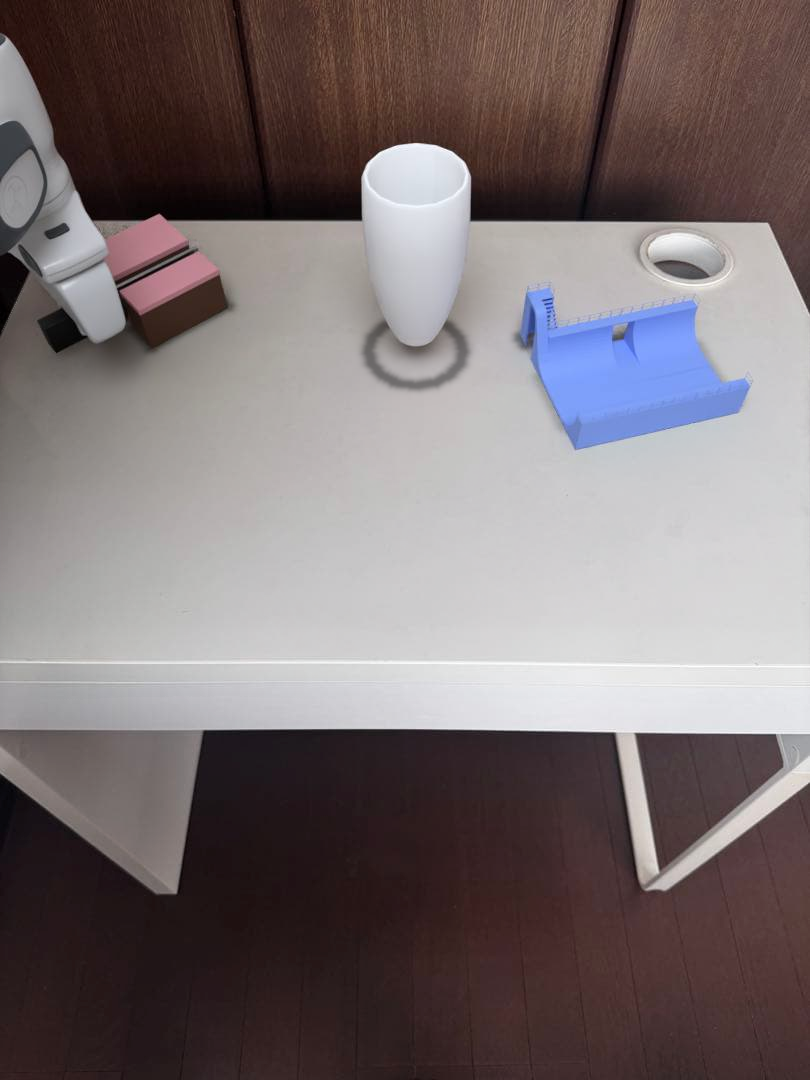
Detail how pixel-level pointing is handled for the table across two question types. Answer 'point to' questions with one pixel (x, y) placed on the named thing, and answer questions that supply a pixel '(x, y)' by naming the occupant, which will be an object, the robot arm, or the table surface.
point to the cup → (416, 235)
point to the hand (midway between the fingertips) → (80, 321)
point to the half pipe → (626, 371)
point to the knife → (61, 325)
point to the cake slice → (174, 299)
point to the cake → (143, 248)
